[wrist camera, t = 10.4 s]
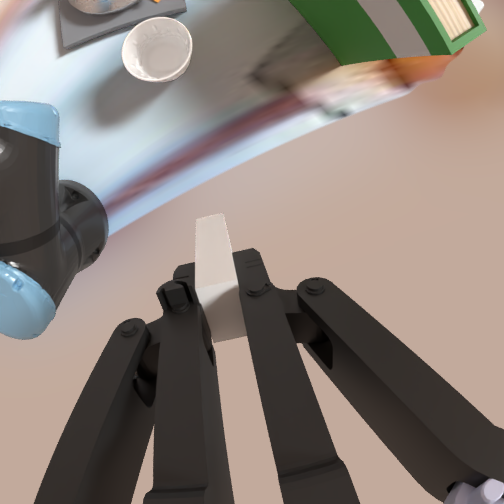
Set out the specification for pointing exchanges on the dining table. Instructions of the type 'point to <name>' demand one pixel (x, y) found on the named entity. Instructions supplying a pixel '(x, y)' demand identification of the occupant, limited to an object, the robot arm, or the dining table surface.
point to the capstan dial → (103, 6)
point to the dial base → (110, 19)
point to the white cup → (157, 50)
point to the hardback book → (391, 27)
